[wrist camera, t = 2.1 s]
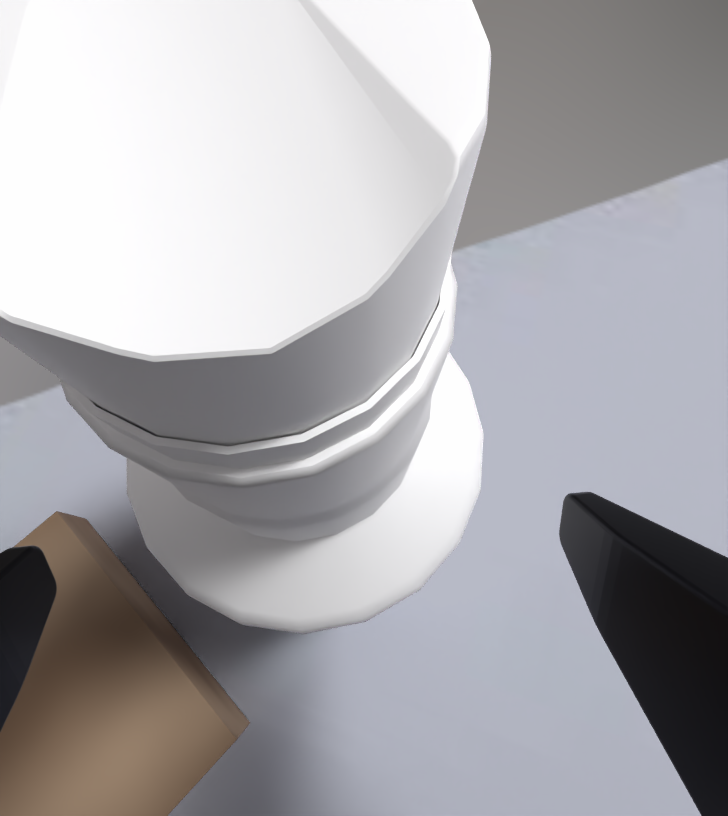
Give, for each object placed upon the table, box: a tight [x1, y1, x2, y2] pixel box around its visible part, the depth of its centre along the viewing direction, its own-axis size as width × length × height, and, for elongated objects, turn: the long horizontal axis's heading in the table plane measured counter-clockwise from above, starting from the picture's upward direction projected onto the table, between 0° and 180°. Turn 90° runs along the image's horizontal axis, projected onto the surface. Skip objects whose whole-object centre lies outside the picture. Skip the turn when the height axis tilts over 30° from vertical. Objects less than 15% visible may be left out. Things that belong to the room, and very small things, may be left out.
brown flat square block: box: [0, 511, 250, 816], centre depth 16 cm, size 10×10×2 cm
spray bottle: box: [0, 0, 491, 634], centre depth 11 cm, size 7×7×18 cm
